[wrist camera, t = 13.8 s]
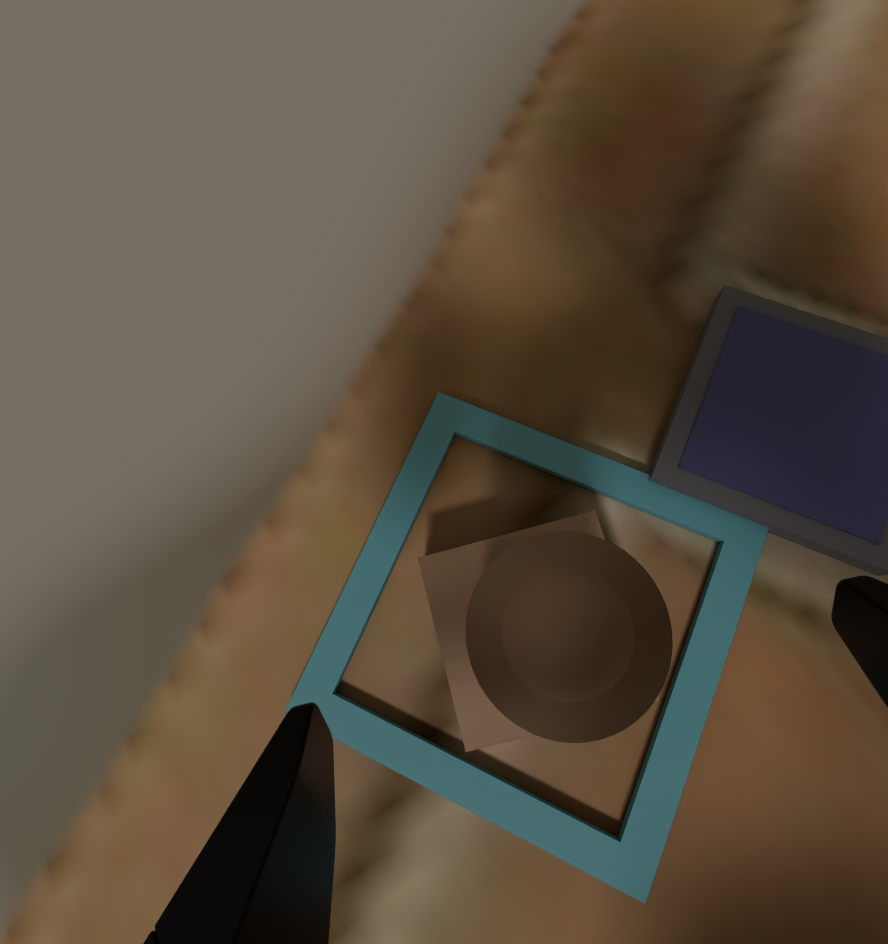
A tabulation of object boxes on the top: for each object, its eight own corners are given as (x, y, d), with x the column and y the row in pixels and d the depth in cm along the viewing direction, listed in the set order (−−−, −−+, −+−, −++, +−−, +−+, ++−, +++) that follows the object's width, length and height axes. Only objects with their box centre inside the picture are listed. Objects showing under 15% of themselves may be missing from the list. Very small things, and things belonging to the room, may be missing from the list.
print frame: (641, 897, 17) (645, 904, 17) (288, 710, 19) (284, 712, 19) (765, 524, 20) (770, 522, 19) (439, 395, 22) (438, 391, 21)
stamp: (644, 693, 19) (825, 782, 8) (468, 740, 19) (440, 883, 9) (586, 518, 20) (681, 419, 10) (423, 563, 20) (357, 508, 10)
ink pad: (878, 575, 19) (897, 573, 18) (644, 482, 20) (652, 476, 19) (936, 370, 20) (956, 358, 20) (716, 297, 22) (725, 283, 21)
